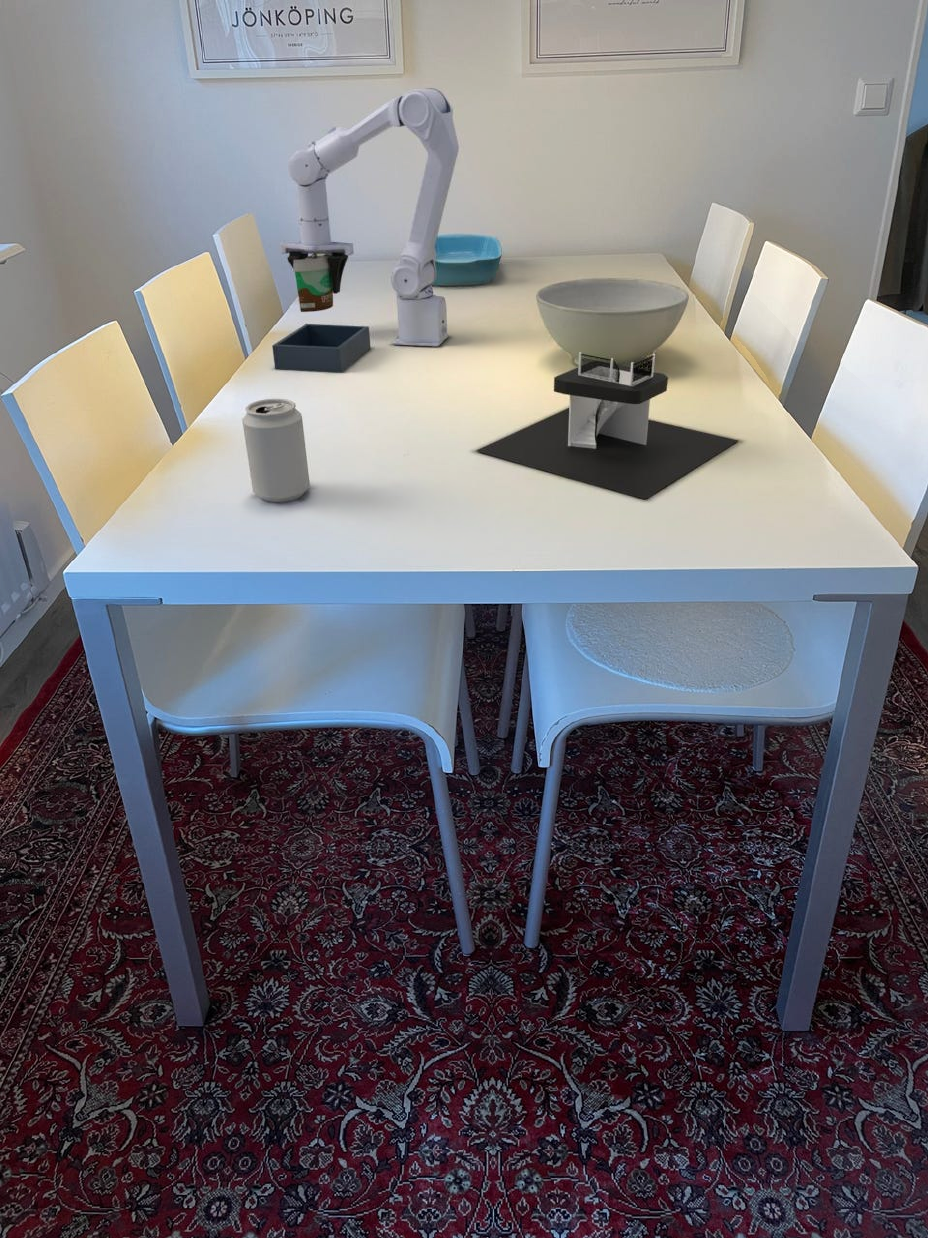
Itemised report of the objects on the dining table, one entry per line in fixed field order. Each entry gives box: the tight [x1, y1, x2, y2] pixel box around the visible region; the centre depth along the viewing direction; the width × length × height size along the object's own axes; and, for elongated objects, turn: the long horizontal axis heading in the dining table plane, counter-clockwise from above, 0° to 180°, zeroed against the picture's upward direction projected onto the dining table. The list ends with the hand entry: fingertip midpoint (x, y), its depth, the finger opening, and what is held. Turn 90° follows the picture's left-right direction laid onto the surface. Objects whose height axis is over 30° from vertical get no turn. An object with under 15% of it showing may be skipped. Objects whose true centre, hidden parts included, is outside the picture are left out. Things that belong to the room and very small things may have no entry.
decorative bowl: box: [535, 277, 690, 368], centre depth 169 cm, size 27×27×12 cm
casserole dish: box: [431, 233, 503, 287], centre depth 240 cm, size 37×22×7 cm, turn 0°
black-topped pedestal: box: [475, 352, 739, 500], centre depth 132 cm, size 28×26×13 cm
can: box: [241, 398, 311, 503], centre depth 121 cm, size 8×8×12 cm
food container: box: [292, 250, 334, 313], centre depth 187 cm, size 12×6×10 cm, turn 168°
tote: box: [271, 323, 372, 373], centre depth 177 cm, size 13×16×4 cm
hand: (321, 291), depth 188 cm, fingers closed on food container, 6 cm apart
